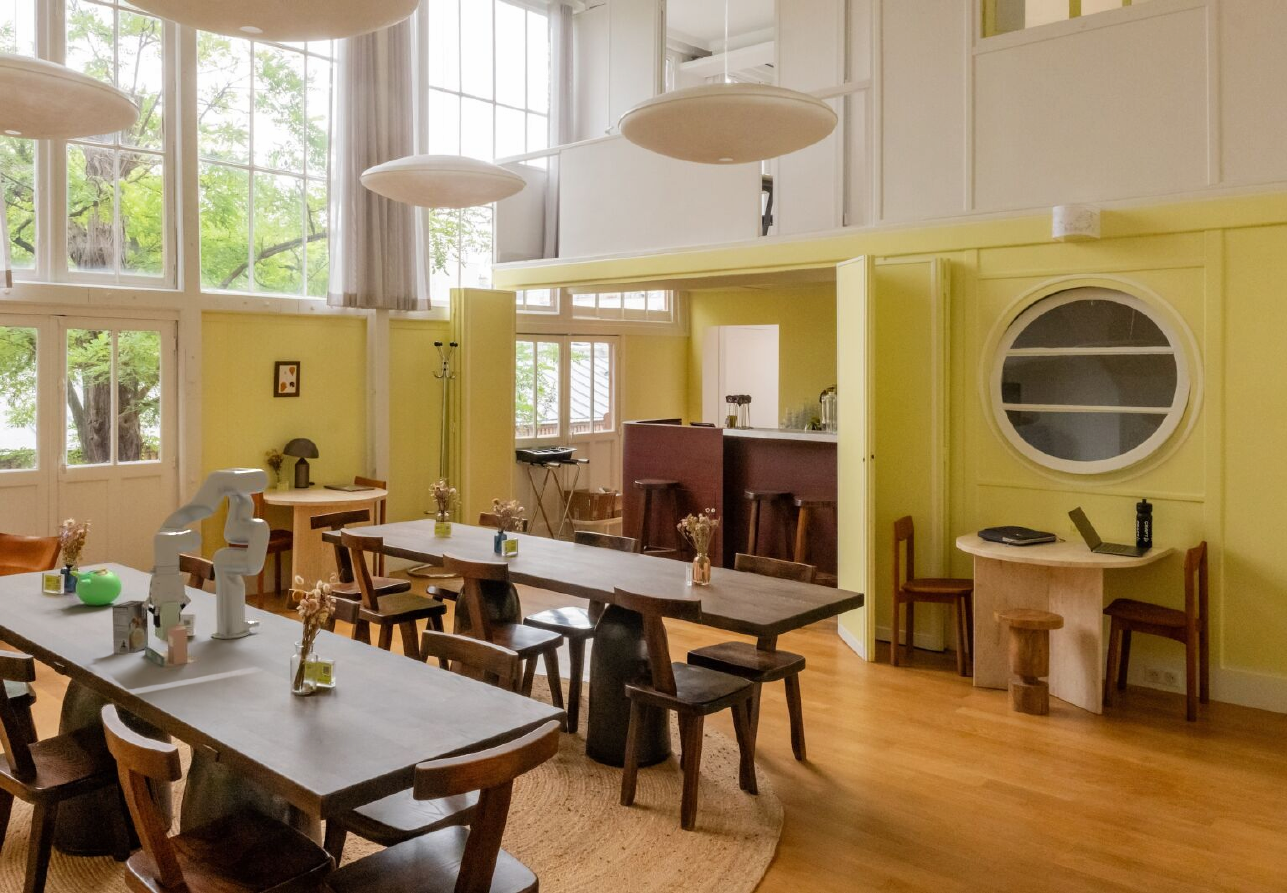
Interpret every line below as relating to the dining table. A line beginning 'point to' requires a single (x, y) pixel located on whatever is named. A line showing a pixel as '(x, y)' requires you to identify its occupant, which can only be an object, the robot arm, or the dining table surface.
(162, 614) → the sage carton
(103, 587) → the green teapot
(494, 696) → the dining table surface
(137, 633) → the coffee box
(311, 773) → the dining table surface
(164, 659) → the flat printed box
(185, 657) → the terracotta carton
